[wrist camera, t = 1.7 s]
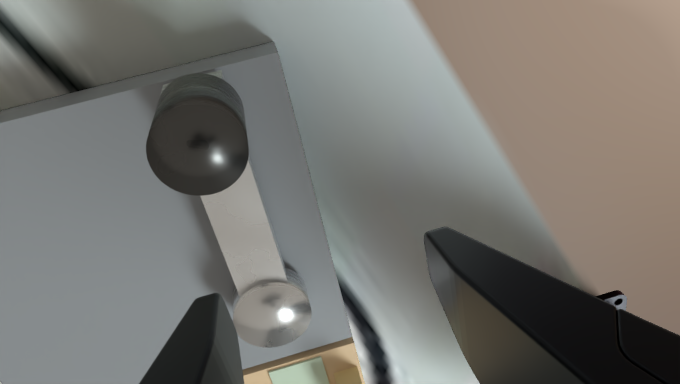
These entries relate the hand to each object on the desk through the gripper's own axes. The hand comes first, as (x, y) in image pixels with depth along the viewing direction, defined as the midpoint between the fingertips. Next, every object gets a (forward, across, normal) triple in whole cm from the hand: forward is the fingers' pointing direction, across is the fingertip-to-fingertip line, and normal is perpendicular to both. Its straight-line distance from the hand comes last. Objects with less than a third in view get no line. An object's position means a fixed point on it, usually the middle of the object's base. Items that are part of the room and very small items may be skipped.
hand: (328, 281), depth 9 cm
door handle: (+11, +2, +5) cm, 12 cm away
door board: (+13, +7, +10) cm, 18 cm away
